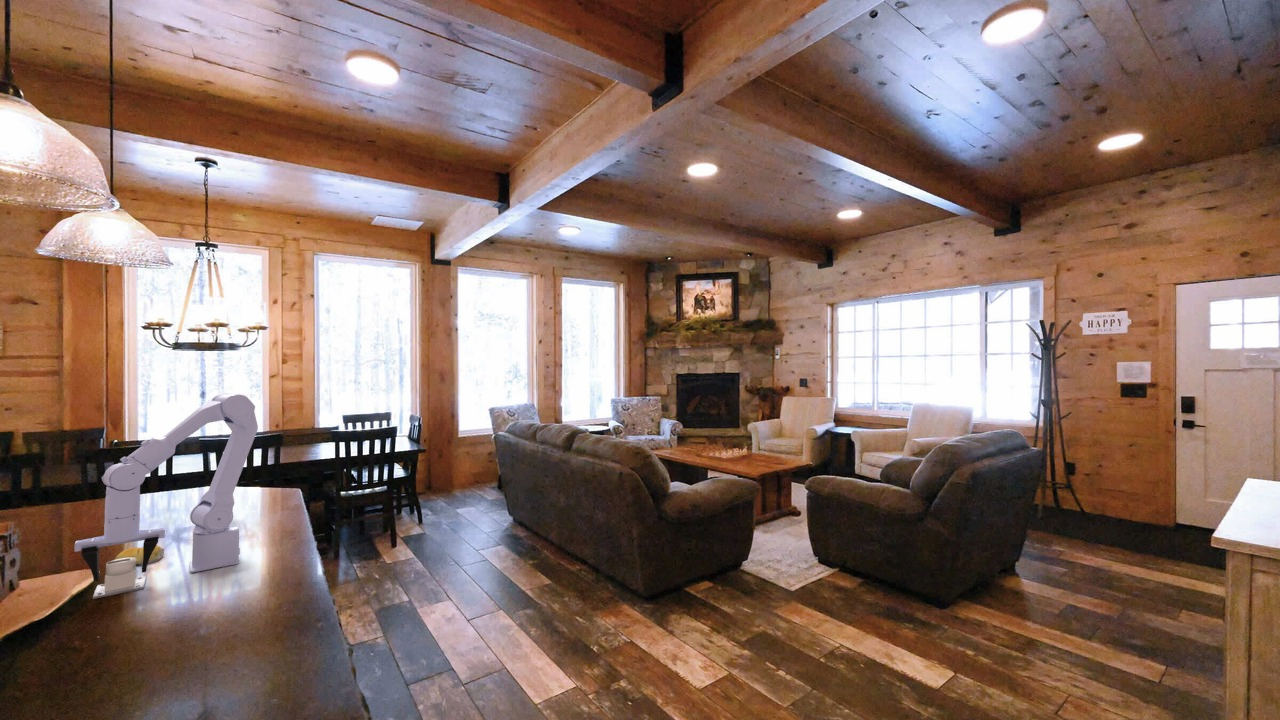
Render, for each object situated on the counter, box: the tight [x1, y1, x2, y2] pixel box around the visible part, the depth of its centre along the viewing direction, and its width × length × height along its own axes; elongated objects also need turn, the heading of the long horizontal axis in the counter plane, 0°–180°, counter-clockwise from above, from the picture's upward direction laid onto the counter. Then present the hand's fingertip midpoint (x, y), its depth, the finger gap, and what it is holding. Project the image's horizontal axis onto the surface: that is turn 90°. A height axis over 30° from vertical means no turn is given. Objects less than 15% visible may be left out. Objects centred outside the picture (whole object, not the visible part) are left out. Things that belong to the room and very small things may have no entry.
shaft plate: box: [92, 575, 147, 600], centre depth 117 cm, size 8×8×3 cm
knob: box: [104, 557, 137, 591], centre depth 117 cm, size 5×5×6 cm
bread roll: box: [115, 544, 165, 566], centre depth 134 cm, size 8×9×4 cm
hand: (120, 575), depth 117 cm, fingers open, 7 cm apart
